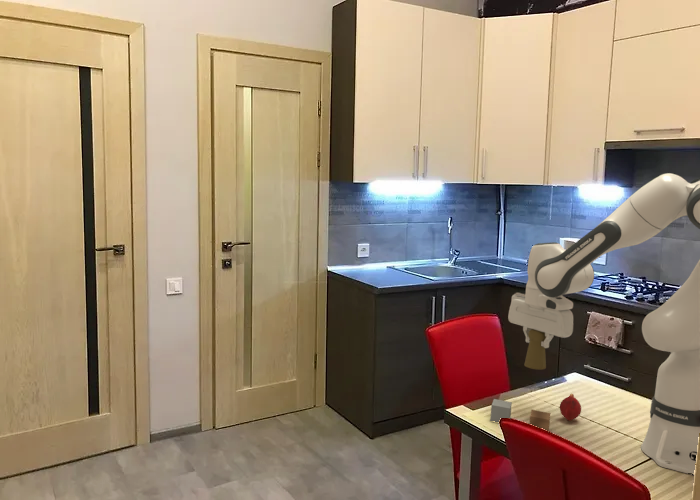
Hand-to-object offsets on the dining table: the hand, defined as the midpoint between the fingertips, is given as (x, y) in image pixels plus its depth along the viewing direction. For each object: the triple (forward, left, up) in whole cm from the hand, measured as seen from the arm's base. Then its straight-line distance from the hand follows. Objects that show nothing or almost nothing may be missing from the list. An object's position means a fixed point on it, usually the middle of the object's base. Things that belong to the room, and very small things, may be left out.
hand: (536, 344), depth 172 cm
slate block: (+4, +11, -21) cm, 24 cm away
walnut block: (-7, +10, -21) cm, 24 cm away
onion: (-10, -4, -21) cm, 24 cm away
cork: (0, 0, -7) cm, 7 cm away
